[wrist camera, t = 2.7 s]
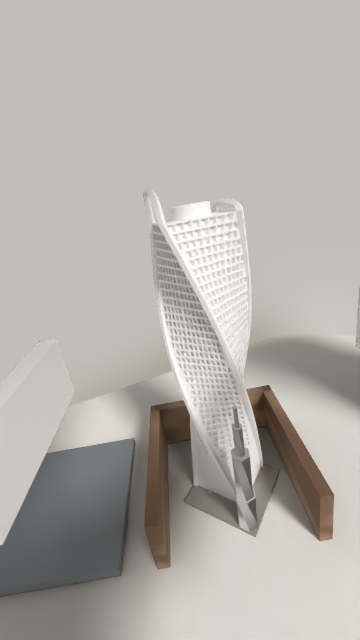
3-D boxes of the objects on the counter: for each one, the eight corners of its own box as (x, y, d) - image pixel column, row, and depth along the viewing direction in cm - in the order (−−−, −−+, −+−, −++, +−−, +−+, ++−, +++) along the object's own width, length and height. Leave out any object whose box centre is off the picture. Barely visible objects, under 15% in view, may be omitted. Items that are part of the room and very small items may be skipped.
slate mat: (135, 443, 36) (133, 438, 36) (120, 575, 23) (118, 569, 23) (8, 465, 37) (6, 460, 36) (-77, 609, 24) (-82, 603, 23)
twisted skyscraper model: (172, 498, 29) (96, 194, 19) (210, 440, 35) (167, 186, 25) (255, 539, 24) (214, 165, 14) (282, 464, 31) (267, 164, 20)
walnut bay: (271, 419, 36) (268, 385, 34) (332, 538, 23) (333, 494, 21) (159, 438, 36) (151, 406, 35) (157, 569, 23) (144, 527, 22)
